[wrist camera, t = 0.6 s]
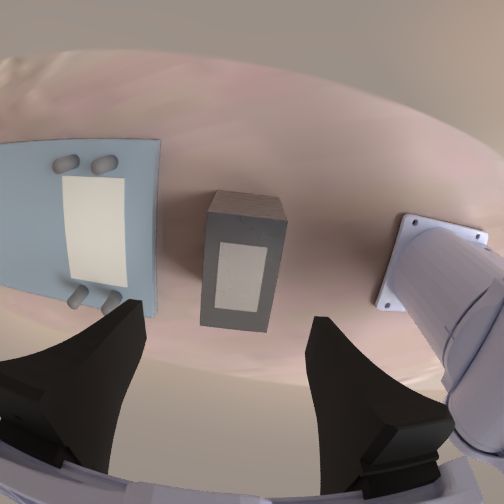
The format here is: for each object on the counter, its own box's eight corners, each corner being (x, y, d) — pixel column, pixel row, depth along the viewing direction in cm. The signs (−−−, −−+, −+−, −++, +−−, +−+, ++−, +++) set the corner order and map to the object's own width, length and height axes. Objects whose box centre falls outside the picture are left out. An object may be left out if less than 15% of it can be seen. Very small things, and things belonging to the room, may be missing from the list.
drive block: (278, 197, 20) (287, 221, 15) (263, 290, 23) (266, 333, 18) (217, 189, 20) (207, 212, 15) (209, 284, 22) (199, 326, 18)
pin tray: (160, 139, 18) (145, 142, 15) (157, 311, 23) (147, 334, 20) (-31, 147, 17) (-53, 154, 14) (-14, 274, 22) (-31, 288, 19)
